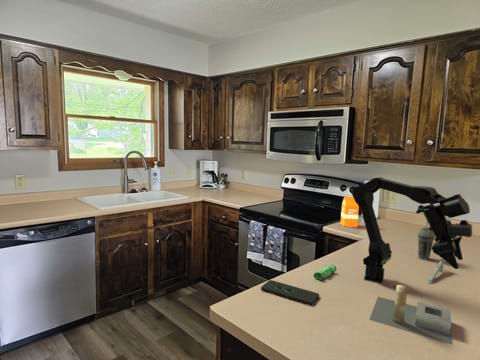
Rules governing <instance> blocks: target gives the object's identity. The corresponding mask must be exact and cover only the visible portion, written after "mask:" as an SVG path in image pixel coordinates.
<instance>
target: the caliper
mask: <svg viewBox="0 0 480 360" xmlns="http://www.w3.org/2000/svg"><path fill="white" fill-rule="evenodd" d="M444 261H445V260H444V259H443V258H441V257H440V258H439V262H438V264H437V266H436V267H435V269H434V270H433V273H432V274H430V277H429V278H428V281H427V284H432V282H433V281H434V280H435V278H436V277H437V275H438V273H439V272H442V271H443V270H444V263H445V262H444Z"/></svg>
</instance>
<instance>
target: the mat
mask: <svg viewBox="0 0 480 360" xmlns="http://www.w3.org/2000/svg"><path fill="white" fill-rule="evenodd" d="M394 308H395V300H393V299H390V298H385V297H381V296H377V297H376V301H375V304H374V306H373V309H372V311H371V314H370V316H369V321H372V322H376V323H379V324H382V325H385V326H389V327H392V328H396V329H399V330H402V331H405V332H409V333H412V334H416V335H420V336H421V337H424V338H430V339H432V340H436V341H439V342H442V343H445V344H449V345H453V335H452V328H451V329H450V336H449V335H446V334H442V333H439V332H435V331H432V330H428V329H425V328H421V327H418V326H415V320H416V311H417V305H416V306H415V305H412V304H409V303H406V307H405V317H404V324H397V323H395V322H394V321H393V318H394Z"/></svg>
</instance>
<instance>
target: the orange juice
mask: <svg viewBox="0 0 480 360" xmlns="http://www.w3.org/2000/svg"><path fill="white" fill-rule="evenodd" d="M359 208H360V207H359V206H358V205H357V203H356V202H355V200H354V198H353V196H344V197H343V199H342V203H341V212H340V225H341V224H342V225H343V226H354V227H357V228H358V220H359V210H360V209H359ZM342 225H341V226H342ZM343 226H342V227H343Z"/></svg>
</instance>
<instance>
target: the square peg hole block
mask: <svg viewBox="0 0 480 360" xmlns="http://www.w3.org/2000/svg"><path fill="white" fill-rule="evenodd" d="M416 307H417V311H416V320H415V326H418V327H421V328H425V329H428V330H432V331H435V332H439V333H442V334H446V335H449V336H450V329H451V330H452V318H451V317H452V316H451V309H449V308H446V307H441V306H437V305H434V304H430V303H427V302H422V301H419V300H418V301H417V302H416Z"/></svg>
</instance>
